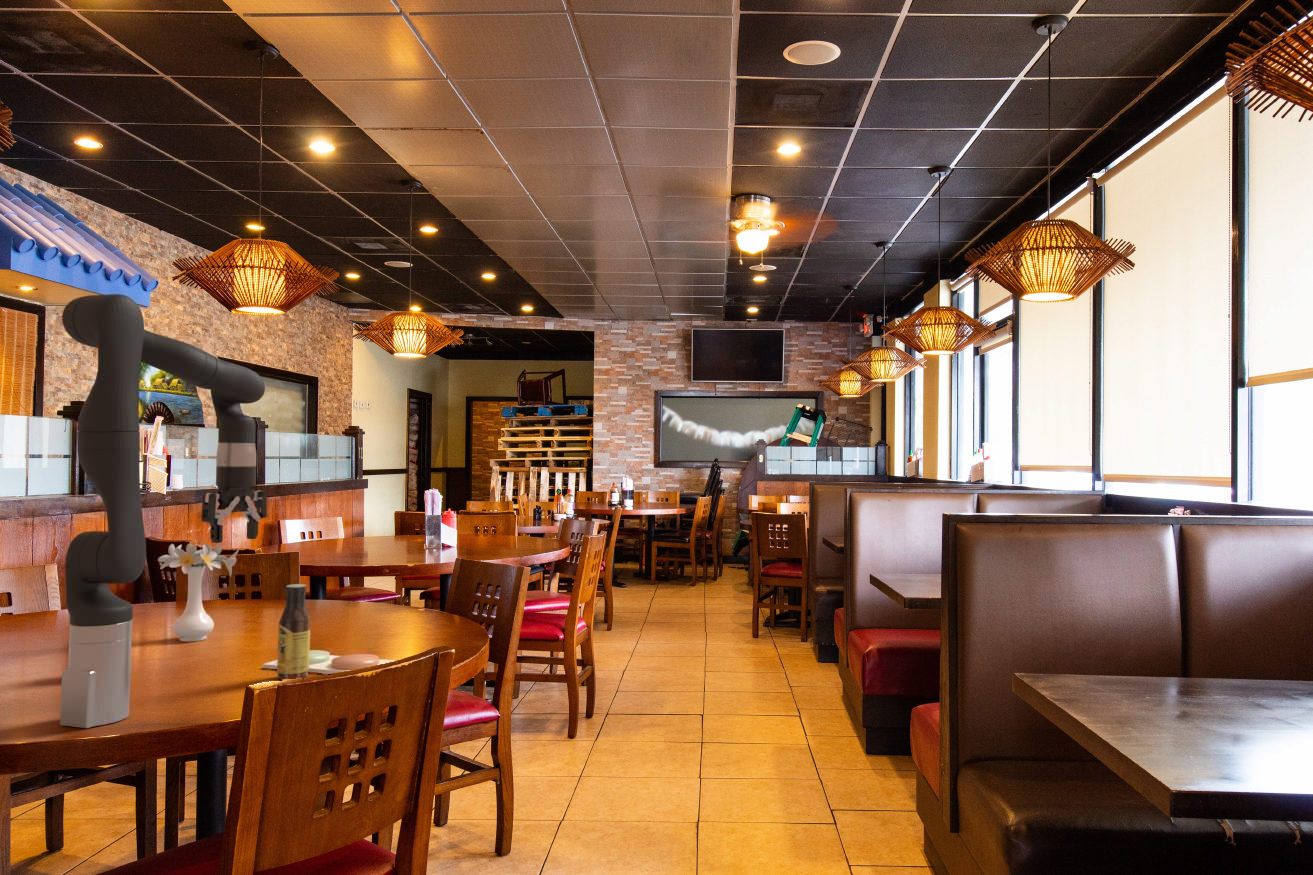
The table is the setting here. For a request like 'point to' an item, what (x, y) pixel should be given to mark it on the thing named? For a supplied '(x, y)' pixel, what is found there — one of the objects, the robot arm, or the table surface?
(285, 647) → the sauce bottle
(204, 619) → the flower vase
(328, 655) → the tray
